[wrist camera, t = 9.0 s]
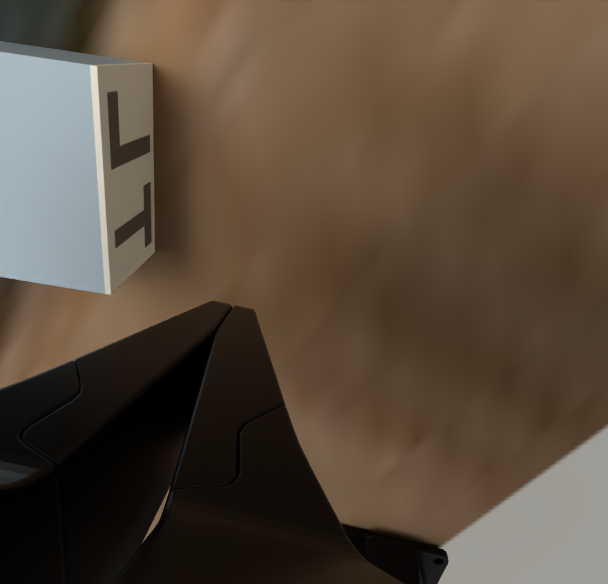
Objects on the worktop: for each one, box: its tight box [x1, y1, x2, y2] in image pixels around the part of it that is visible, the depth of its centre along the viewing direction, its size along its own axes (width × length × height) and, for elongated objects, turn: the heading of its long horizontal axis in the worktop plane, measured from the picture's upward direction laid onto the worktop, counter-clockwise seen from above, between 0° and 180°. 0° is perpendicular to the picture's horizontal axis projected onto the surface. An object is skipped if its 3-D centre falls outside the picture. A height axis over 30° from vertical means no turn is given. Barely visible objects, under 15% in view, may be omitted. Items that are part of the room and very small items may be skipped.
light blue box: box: [0, 41, 155, 295], centre depth 16 cm, size 7×4×8 cm
